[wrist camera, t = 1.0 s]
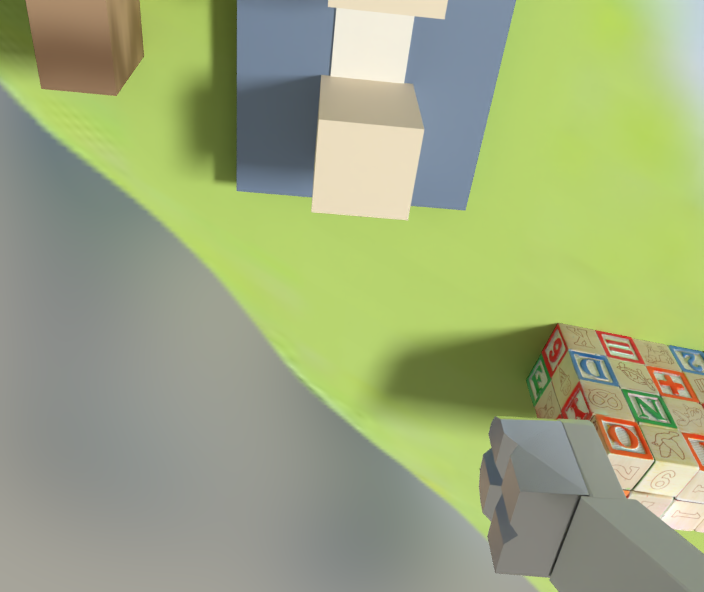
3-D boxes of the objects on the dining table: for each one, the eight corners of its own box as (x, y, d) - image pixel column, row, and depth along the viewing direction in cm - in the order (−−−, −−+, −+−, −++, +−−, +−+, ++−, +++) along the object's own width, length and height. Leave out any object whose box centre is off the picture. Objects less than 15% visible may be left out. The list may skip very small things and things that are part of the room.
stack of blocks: (807, 367, 52) (914, 502, 43) (759, 420, 56) (848, 555, 46) (555, 321, 49) (609, 454, 39) (522, 380, 53) (564, 516, 43)
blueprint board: (241, -231, 29) (217, -234, 23) (552, -189, 30) (605, -182, 24) (239, 179, 41) (223, 245, 35) (461, 198, 42) (482, 266, 36)
